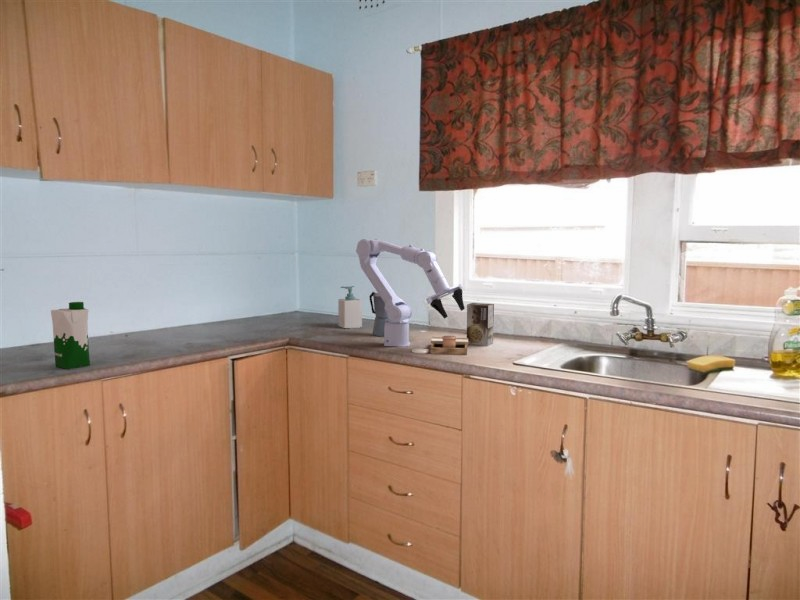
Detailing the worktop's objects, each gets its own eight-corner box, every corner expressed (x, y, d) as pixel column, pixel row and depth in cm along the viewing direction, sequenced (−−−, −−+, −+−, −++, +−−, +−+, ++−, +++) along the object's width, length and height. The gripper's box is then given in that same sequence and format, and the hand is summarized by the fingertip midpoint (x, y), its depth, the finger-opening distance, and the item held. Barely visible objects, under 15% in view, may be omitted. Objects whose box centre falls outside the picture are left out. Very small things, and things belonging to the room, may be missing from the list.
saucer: (410, 354, 195) (410, 351, 195) (412, 350, 201) (412, 348, 201) (428, 354, 194) (428, 352, 194) (430, 351, 200) (430, 348, 200)
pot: (441, 353, 195) (441, 337, 195) (442, 350, 200) (442, 335, 200) (455, 353, 195) (456, 338, 194) (456, 350, 200) (456, 335, 199)
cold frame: (430, 354, 194) (430, 347, 194) (432, 346, 210) (433, 339, 210) (467, 355, 193) (467, 348, 192) (466, 347, 208) (467, 340, 208)
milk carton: (94, 365, 174) (91, 302, 172) (64, 370, 166) (60, 305, 164) (80, 361, 179) (77, 300, 177) (50, 366, 171) (46, 303, 169)
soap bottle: (338, 326, 256) (337, 285, 254) (355, 325, 260) (355, 285, 258) (344, 328, 249) (343, 287, 246) (362, 327, 252) (362, 286, 250)
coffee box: (493, 344, 214) (494, 303, 213) (487, 347, 209) (488, 305, 207) (472, 342, 219) (473, 302, 217) (465, 344, 213) (466, 303, 212)
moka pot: (389, 338, 225) (389, 290, 223) (361, 334, 234) (361, 288, 232) (403, 335, 233) (403, 288, 230) (375, 331, 242) (375, 286, 240)
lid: (430, 343, 202) (430, 340, 202) (432, 339, 211) (432, 336, 210) (468, 344, 200) (468, 342, 200) (468, 340, 209) (468, 337, 209)
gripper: (424, 284, 195) (442, 318, 193) (457, 270, 200) (474, 303, 198) (418, 290, 201) (435, 323, 199) (450, 276, 207) (467, 308, 205)
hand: (454, 313), depth 199 cm, fingers open, 7 cm apart
